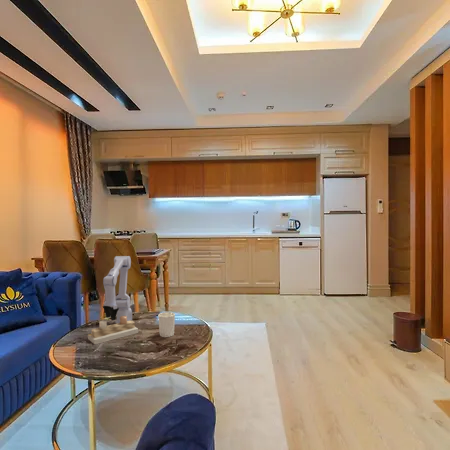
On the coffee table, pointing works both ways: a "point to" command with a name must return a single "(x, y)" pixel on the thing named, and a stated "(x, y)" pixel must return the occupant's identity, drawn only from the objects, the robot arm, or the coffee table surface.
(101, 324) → the taupe tapered cylinder
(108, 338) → the dock
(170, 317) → the candle holder
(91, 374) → the coffee table surface
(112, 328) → the beige long bar
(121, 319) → the cylinder
